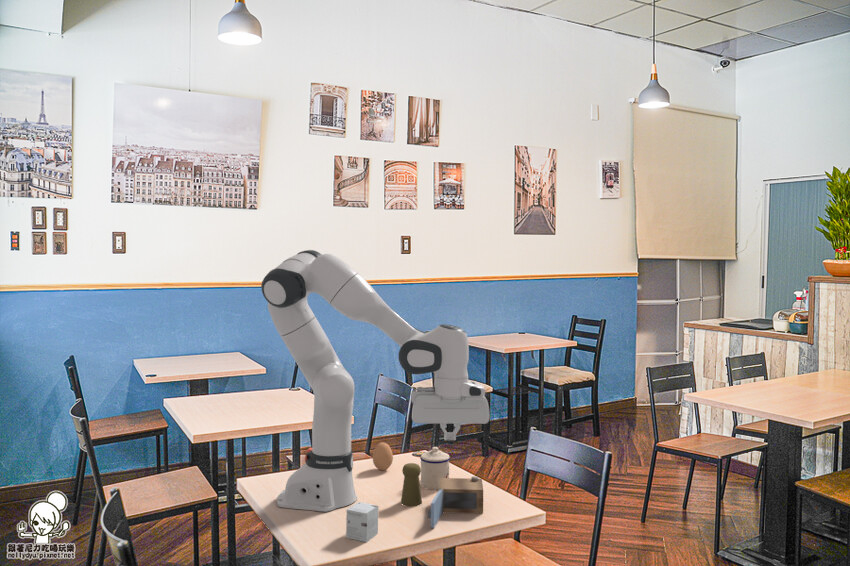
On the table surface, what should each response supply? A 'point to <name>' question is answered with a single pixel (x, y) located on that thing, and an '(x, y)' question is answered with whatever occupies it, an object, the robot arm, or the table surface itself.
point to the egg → (382, 456)
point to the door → (436, 508)
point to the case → (462, 495)
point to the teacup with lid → (434, 468)
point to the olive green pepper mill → (411, 485)
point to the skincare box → (362, 521)
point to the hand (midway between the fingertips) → (450, 439)
